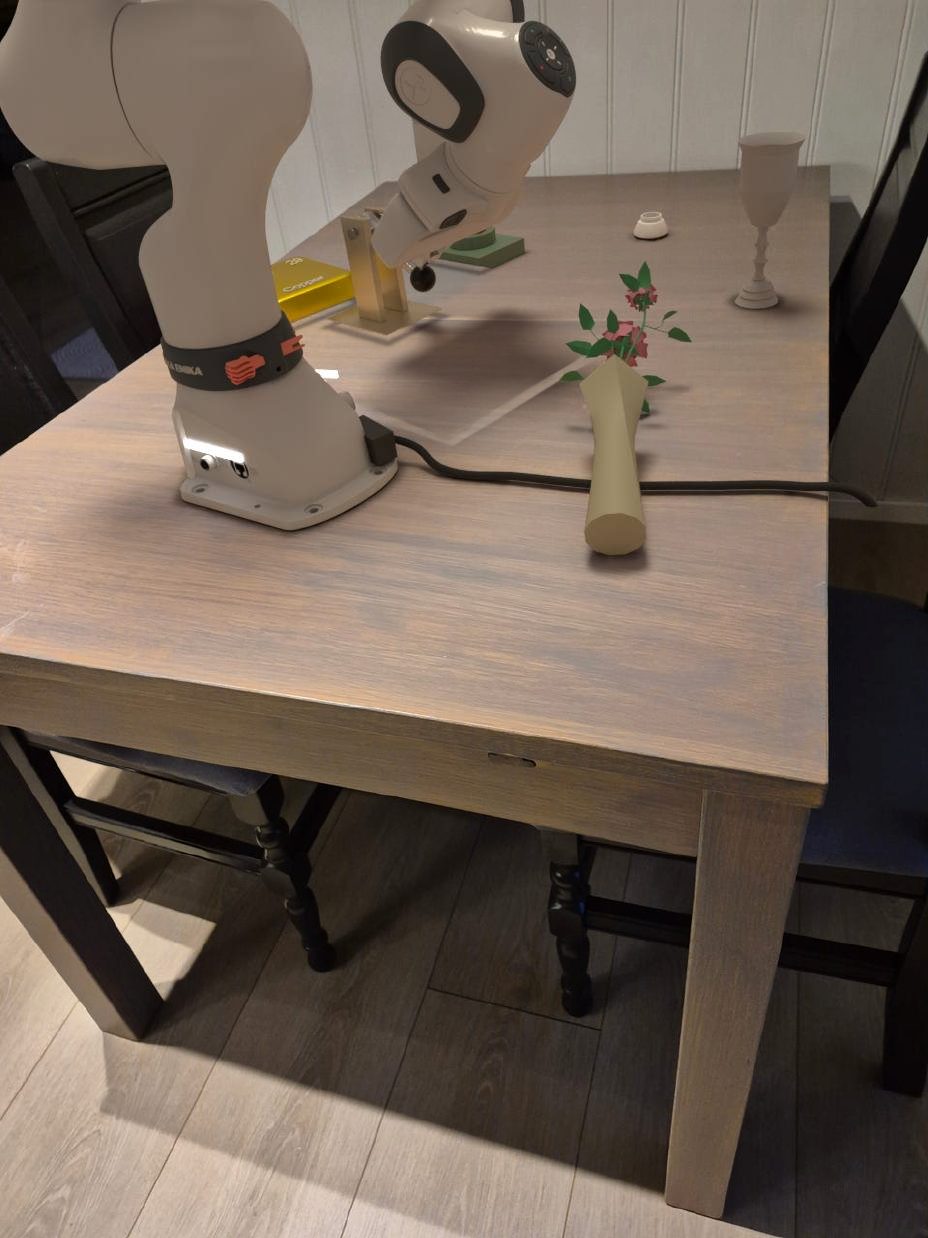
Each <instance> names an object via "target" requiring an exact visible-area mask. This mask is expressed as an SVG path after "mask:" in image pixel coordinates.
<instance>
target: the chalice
mask: <svg viewBox="0 0 928 1238" xmlns="http://www.w3.org/2000/svg"><path fill="white" fill-rule="evenodd" d="M806 139H807V136H806V135H804V134H803V133H800V132H793V131H765V132H757V133H751V134H747V135H744V136H742V137H739V138H738V139H737V143H738V146H739V149H740V150H741V159H740V171H739V172H740V173H739V185H738V189H739V193H740V196H741V197H740V198H741V200H742V205H743V207H744V210H745V212H746V215H747V218H748V220H749V223H750V225H751V226H753V227H755V228H757V230H758V236H757V239H756V242H755V243H754V247H755V249H756V254H755V257H754V258H753V259H752V260H751V262H752V263H753V264H754V269H755V271H754V274H753V276H751V279H748V280H746V281H745V283H743V285H742V286H741V289H740V290H739V292H738V295H737V297H736V298H735V300H734V303H735V305H737V306H739V307H740V308H743V309H744V308H745V309H754V310H756V309H757V310H758V309H759V310H761V309H766V308H771V307H773V306H775V305H777V304H778V303H779V299H778V297H777V291H776V290H775V288H774V287H775V286H774V283H773V282H772V281H771V280H770V279H768V278H767V277H766V276H765V274H764V269H765V266H766V264H767V263H768V261H769V260H768V258H767V257H766V251H767V248H768V247H769V246H770V243H769V242H768V236H767V234H768V230H769V228H771V227H773V226H775V225H776V224H778V221H779V220H780V218H781V216H782V214H783V213H784V211H785V209H786V207H787V206H788V204H789V202H790V200H791V197H792V195H793V193H794V191H795V188H796V186H797V185H796V184H797V176H798V167H799V159H800V158H799V157H800V150H801V147H802V146H803V144H804V143H805V140H806Z"/></svg>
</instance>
